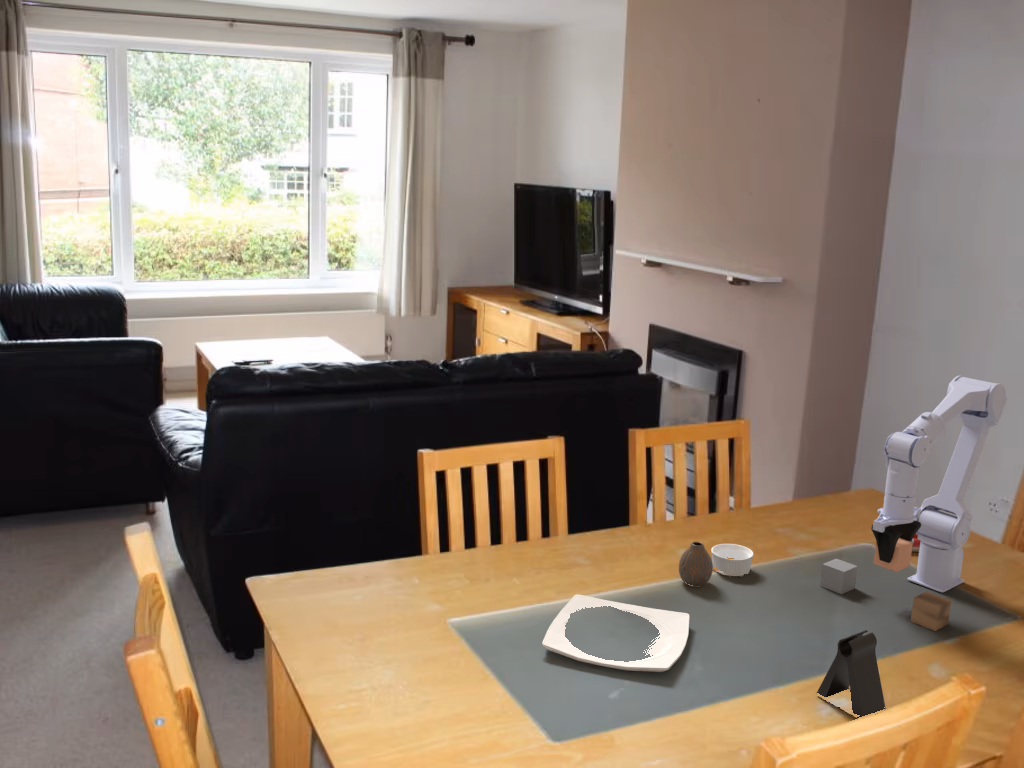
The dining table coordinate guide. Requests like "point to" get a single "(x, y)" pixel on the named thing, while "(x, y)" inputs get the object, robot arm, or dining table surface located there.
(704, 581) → the vase
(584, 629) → the dining table surface
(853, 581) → the slate block
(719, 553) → the ramekin
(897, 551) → the terracotta block
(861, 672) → the phone stand
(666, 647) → the plate
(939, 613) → the walnut block
